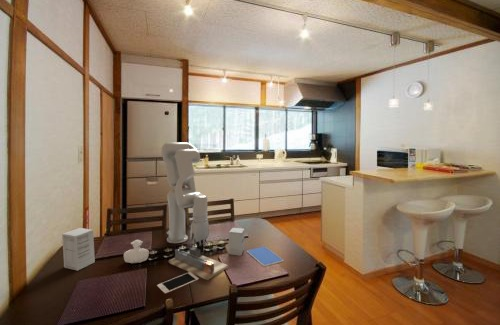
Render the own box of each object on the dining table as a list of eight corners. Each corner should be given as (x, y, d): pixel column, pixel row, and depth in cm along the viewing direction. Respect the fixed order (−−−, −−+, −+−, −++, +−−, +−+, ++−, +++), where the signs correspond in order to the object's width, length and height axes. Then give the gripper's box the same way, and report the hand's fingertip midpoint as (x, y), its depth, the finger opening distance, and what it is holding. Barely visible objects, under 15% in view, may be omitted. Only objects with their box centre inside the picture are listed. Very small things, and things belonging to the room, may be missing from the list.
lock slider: (189, 255, 133) (189, 248, 133) (193, 253, 136) (193, 246, 135) (196, 257, 130) (196, 251, 130) (200, 255, 133) (200, 249, 132)
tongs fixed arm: (174, 258, 130) (173, 250, 129) (178, 257, 132) (177, 248, 131) (210, 274, 115) (210, 264, 115) (214, 272, 117) (214, 262, 117)
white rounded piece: (149, 263, 132) (150, 241, 137) (147, 260, 125) (149, 237, 131) (124, 265, 129) (126, 243, 134) (121, 262, 122) (123, 239, 128)
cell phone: (156, 286, 108) (156, 284, 108) (190, 272, 119) (190, 271, 119) (165, 294, 103) (164, 293, 103) (199, 279, 114) (199, 278, 114)
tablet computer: (284, 262, 132) (284, 259, 131) (263, 267, 126) (263, 265, 125) (264, 248, 148) (264, 245, 148) (245, 252, 142) (245, 250, 142)
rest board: (168, 262, 128) (168, 260, 128) (189, 252, 139) (189, 250, 139) (207, 280, 113) (207, 277, 113) (227, 267, 124) (227, 265, 124)
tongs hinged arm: (180, 259, 129) (180, 251, 129) (182, 258, 130) (182, 250, 130) (212, 272, 117) (212, 264, 116) (214, 271, 117) (214, 263, 117)
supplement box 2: (241, 255, 137) (241, 233, 136) (228, 254, 138) (228, 231, 137) (244, 250, 144) (244, 228, 143) (231, 248, 146) (232, 227, 144)
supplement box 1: (95, 262, 127) (94, 229, 126) (77, 271, 119) (76, 236, 117) (81, 259, 130) (80, 227, 129) (63, 267, 122) (61, 233, 120)
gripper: (204, 213, 143) (205, 245, 144) (184, 220, 130) (184, 255, 132) (215, 216, 138) (214, 248, 140) (194, 223, 126) (194, 259, 128)
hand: (200, 251), depth 136 cm, fingers closed
